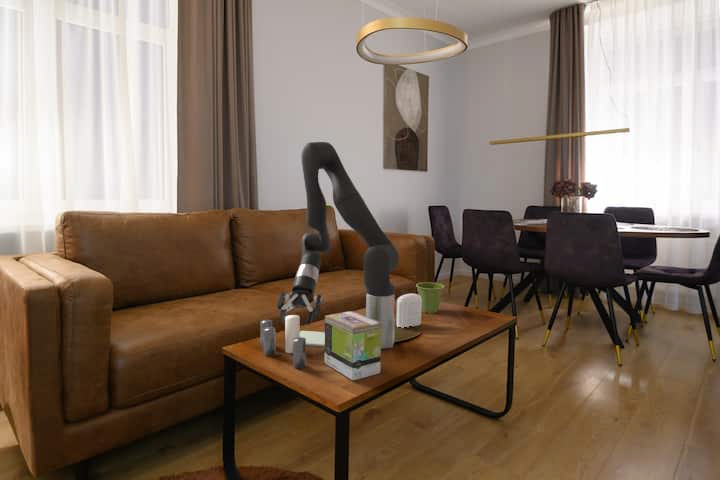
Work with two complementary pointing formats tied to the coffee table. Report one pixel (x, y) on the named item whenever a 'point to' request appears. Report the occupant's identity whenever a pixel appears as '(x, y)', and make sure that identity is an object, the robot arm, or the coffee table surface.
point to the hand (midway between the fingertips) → (294, 323)
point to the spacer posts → (270, 344)
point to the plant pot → (430, 296)
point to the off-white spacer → (291, 331)
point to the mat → (313, 338)
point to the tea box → (353, 344)
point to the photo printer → (409, 310)
